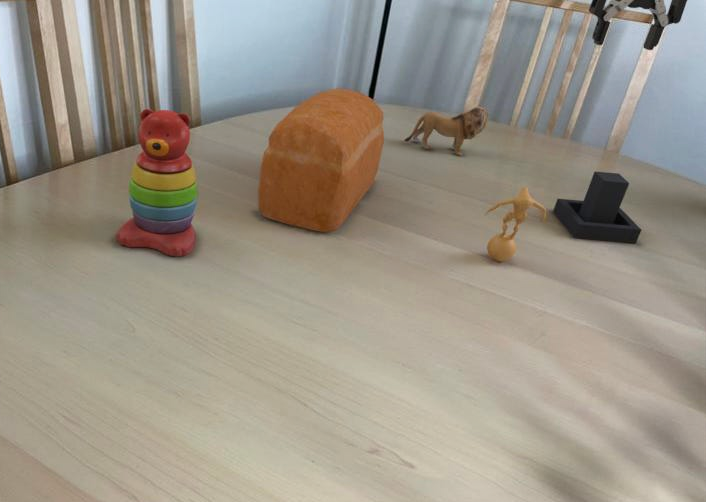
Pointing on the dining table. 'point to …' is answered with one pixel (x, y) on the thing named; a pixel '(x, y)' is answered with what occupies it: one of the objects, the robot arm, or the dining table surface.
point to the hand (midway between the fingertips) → (622, 46)
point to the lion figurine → (451, 126)
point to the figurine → (504, 244)
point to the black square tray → (595, 224)
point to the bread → (321, 160)
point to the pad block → (603, 198)
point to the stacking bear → (162, 187)
